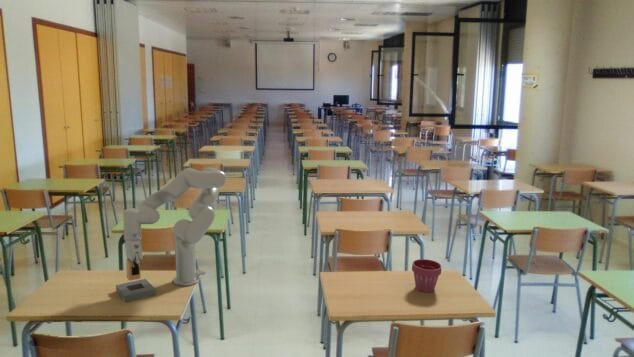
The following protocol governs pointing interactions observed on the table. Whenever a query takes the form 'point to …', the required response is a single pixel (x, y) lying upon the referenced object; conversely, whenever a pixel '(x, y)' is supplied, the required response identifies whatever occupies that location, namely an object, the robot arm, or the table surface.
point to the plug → (129, 270)
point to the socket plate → (135, 290)
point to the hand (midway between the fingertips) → (133, 272)
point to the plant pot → (426, 274)
